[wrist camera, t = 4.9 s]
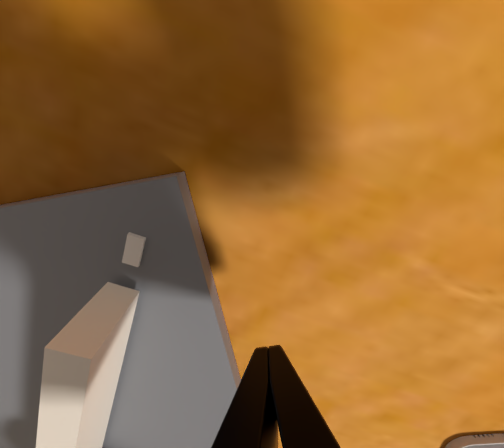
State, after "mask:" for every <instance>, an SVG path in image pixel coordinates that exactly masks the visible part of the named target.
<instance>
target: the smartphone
mask: <svg viewBox="0 0 504 448" xmlns="http://www.w3.org/2000/svg"><path fill="white" fill-rule="evenodd" d="M445 448H504V433H502V434H484V435H468V436H462V437H458V438H456V439H454V440H452V441H450V442H449V443H448V444H447V445H446V447H445Z"/></svg>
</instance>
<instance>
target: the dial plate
mask: <svg viewBox="0 0 504 448" xmlns="http://www.w3.org/2000/svg"><path fill="white" fill-rule="evenodd" d="M107 282H110V283H113V284H117V285H120V286H124V287H127V288H131V289H134V290H137V291H140V292H139V296H138V301H137V305H136V309H135V313H134V317H133V321H132V325H131V330H130V334H129V338H128V342H127V346H126V350H125V355H124V359H123V363H122V367H121V371H120V375H119V379H118V384H117V388H116V392H115V396H114V400H113V404H112V409H111V413H110V417H109V421H108V425H107V429H106V433H105V438H104V442H103V446H102V448H211V446H212V444H213V442H214V440H215V437H216V435H217V433H218V431H219V428H220V426H221V424H222V422H223V420H224V417H225V415H226V413H227V411H228V408H229V406H230V404H231V402H232V399H233V397H234V395H235V393H236V390H237V388H238V386H239V384H240V381H241V379H240V375H239V371H238V368H237V364H236V360H235V357H234V353H233V349H232V345H231V342H230V338H229V334H228V331H227V327H226V323H225V320H224V316H223V312H222V308H221V305H220V301H219V297H218V294H217V290H216V286H215V283H214V279H213V275H212V272H211V268H210V264H209V260H208V257H207V253H206V249H205V246H204V242H203V238H202V235H201V231H200V227H199V223H198V220H197V216H196V212H195V209H194V205H193V201H192V198H191V194H190V190H189V187H188V183H187V179H186V175H185V172H184V171H183V172H178V173H172V174H167V175H161V176H156V177H150V178H145V179H139V180H134V181H128V182H123V183H117V184H112V185H106V186H101V187H95V188H90V189H84V190H79V191H74V192H68V193H63V194H57V195H52V196H46V197H41V198H35V199H30V200H24V201H19V202H13V203H8V204H2V205H0V448H36V438H37V427H38V415H39V404H40V393H41V381H42V370H43V359H44V347H45V346H46V345H47V344H48V343H49V342H50V341H51V340H52V339H53V338H54V337H55V336H56V335H57V334H58V333H59V332H60V331H61V330H62V329H63V328H64V327H65V326H66V325H67V324H68V323H69V322H70V321H71V319H72V318H73V317H74V316H75V315H76V314H77V313H78V312H79V311H80V310H81V309H82V308H83V307H84V306H85V305H86V304H87V303H88V302H89V301H90V300H91V299H92V298H93V297H94V296H95V295H96V294H97V292H98V291H99V290H100V289H101V288H102V287H103V286H104V285H105V284H106V283H107Z"/></svg>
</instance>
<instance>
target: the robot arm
mask: <svg viewBox="0 0 504 448" xmlns="http://www.w3.org/2000/svg"><path fill="white" fill-rule="evenodd" d="M278 427H279V432H280V437H281V442H282V447H283V448H340V446H339V444H338V442H337V441H336V439H335V437H334V435H333V434H332V432H331V430H330V429H329V427H328V425H327V424H326V422H325V420H324V418H323V417H322V415H321V413H320V412H319V410H318V408H317V406H316V405H315V403H314V401H313V400H312V398H311V396H310V395H309V393H308V391H307V389H306V388H305V386H304V384H303V383H302V381H301V379H300V377H299V376H298V374H297V372H296V371H295V369H294V367H293V366H292V364H291V362H290V360H289V359H288V357H287V355H286V354H285V352H284V350H283V348H282V347H281V346H280V345H274V346H269V348H268V347H259V348H256V349H255V350H254V352H253V355H252V357H251V359H250V361H249V364H248V366H247V368H246V370H245V373H244V375H243V377H242V379H241V381H240V384H239V386H238V388H237V390H236V393H235V395H234V397H233V399H232V402H231V404H230V406H229V408H228V411H227V413H226V415H225V417H224V420H223V422H222V424H221V426H220V428H219V431H218V433H217V435H216V437H215V440H214V442H213V444H212V446H211V448H278Z"/></svg>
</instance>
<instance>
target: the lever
mask: <svg viewBox="0 0 504 448" xmlns="http://www.w3.org/2000/svg"><path fill="white" fill-rule="evenodd" d="M139 292H140V291H137V290H134V289H131V288H127V287H124V286H120V285H117V284H113V283H110V282H107V283H106V284H105V285H104V286H103V287H102V288H101V289H100V290H99V291H98V292H97V294H96V295H95V296H94V297H93V298H92V299H91V300H90V301H89V302H88V303H87V304H86V305H85V306H84V307H83V308H82V309H81V310H80V311H79V312H78V313H77V314H76V315H75V316H74V317H73V318H72V319H71V321H70V322H69V323H68V324H67V325H66V326H65V327H64V328H63V329H62V330H61V331H60V332H59V333H58V334H57V335H56V336H55V337H54V338H53V339H52V340H51V341H50V342H49V343H48V344H47V345H46V346H45V347H44V359H43V370H42V381H41V393H40V404H39V415H38V427H37V438H36V448H102V446H103V442H104V438H105V433H106V429H107V425H108V421H109V417H110V413H111V409H112V404H113V400H114V396H115V392H116V388H117V384H118V379H119V375H120V371H121V367H122V363H123V359H124V355H125V350H126V346H127V342H128V338H129V334H130V330H131V325H132V321H133V317H134V313H135V309H136V305H137V301H138V296H139Z"/></svg>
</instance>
